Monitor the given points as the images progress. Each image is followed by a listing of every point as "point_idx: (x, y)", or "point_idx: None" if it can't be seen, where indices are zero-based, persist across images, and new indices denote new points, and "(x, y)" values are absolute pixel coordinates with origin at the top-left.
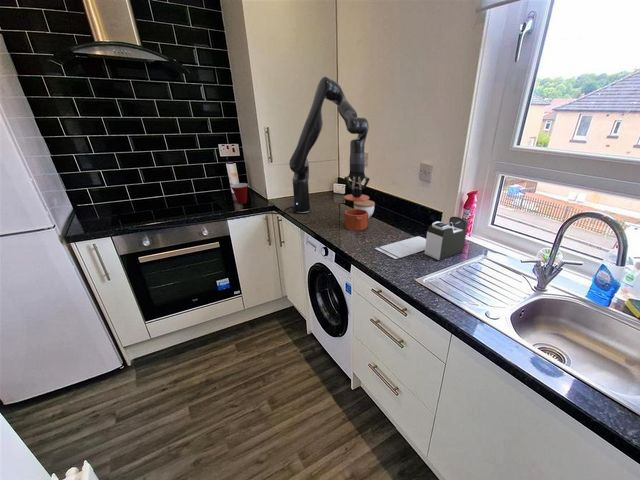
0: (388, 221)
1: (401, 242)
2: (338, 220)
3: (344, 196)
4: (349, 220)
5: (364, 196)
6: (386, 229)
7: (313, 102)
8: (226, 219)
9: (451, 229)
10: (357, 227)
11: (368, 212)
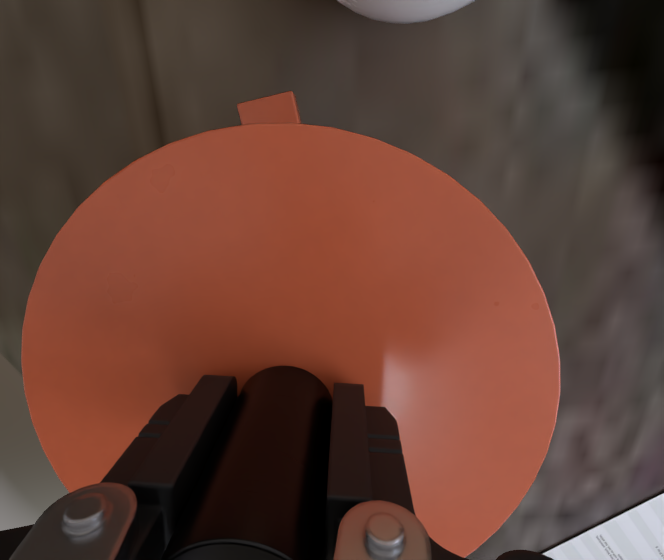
0: (656, 59)
1: (622, 533)
2: (140, 78)
3: (29, 387)
4: None
5: (456, 348)
6: (578, 297)
7: None
8: None
9: None
10: None
11: (466, 4)
